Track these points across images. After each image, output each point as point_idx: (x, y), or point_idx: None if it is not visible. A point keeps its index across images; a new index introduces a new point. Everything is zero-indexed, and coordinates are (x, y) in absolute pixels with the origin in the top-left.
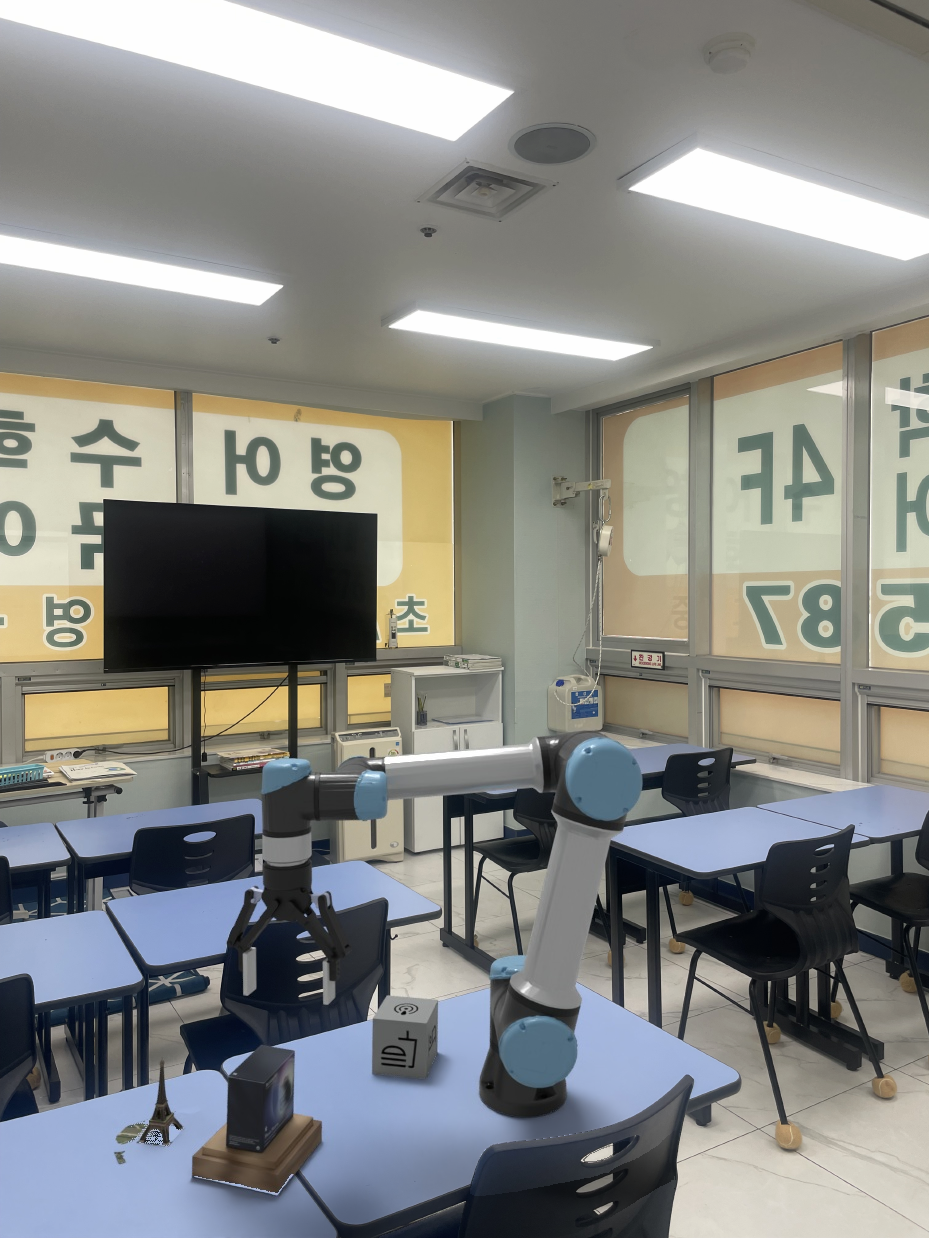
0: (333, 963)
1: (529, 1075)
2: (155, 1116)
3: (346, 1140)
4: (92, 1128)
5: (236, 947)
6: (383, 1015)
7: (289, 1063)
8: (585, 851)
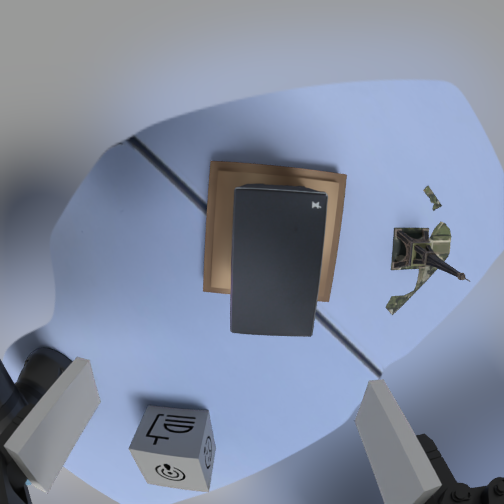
0: (4, 442)
1: None
2: (427, 247)
3: (177, 288)
4: (474, 243)
5: (470, 491)
6: (188, 463)
7: (230, 300)
8: None
